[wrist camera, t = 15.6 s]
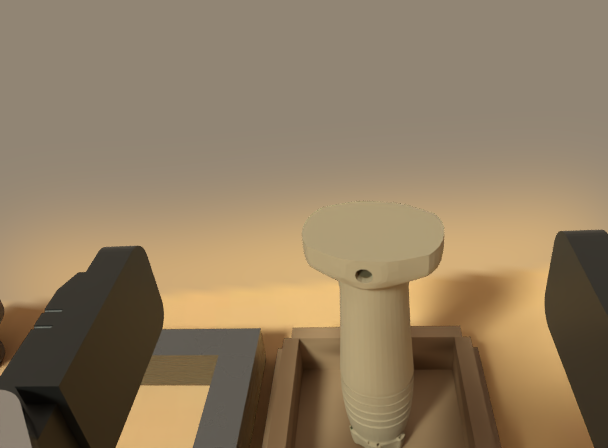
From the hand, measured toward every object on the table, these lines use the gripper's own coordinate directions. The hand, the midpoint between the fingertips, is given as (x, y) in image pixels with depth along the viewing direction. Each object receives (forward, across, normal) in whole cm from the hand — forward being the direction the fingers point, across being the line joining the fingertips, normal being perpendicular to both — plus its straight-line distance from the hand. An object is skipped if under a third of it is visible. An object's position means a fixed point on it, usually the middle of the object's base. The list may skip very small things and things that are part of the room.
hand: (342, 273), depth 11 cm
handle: (+12, 0, +23) cm, 26 cm away
